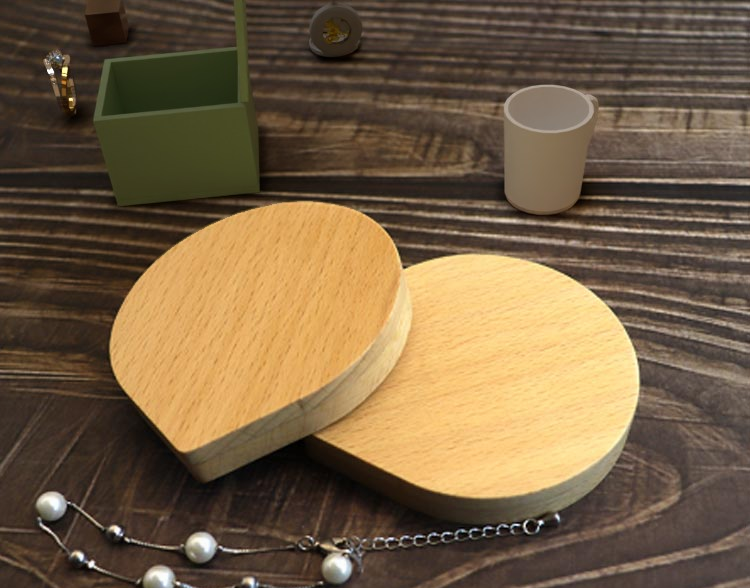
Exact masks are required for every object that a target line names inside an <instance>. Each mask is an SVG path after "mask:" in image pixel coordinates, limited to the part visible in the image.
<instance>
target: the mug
mask: <svg viewBox="0 0 750 588" xmlns="http://www.w3.org/2000/svg"><path fill="white" fill-rule="evenodd" d="M599 110H600V105H599V101H598V98H597V97H595V96H594V95H592V94H590V93H587V94H584V93H582V92H580V91H579V90H577V89H575V88H572V87H568V86H566V85H565V86H563V85H557V84H538V85H531V86H527V87H524V88H521V89H519V90H517V91H515V92H513V93H512V94H511V95H510V96H508V97H507V98H506V100H505V102H504V103H503V165H504V166H503V167H504V168H503V169H504V170H503V172H504V173H503V175H504V177H503V178H504V180H503V181H504V182H503V183H504V184H503V185H504V195H505V198H506V200H507V201H508V202H509V203H510V204H511V206H513V208H516V209H517V210H519V211H521V212H525V213H527V214H530V215H537V216H549V215H556V214H560V213H563V212H565V211H567V210H569V209H570V208H572V207H573V206H574V205H575V204H576V203H577V202H578V201H579V199H580V196H581V191H582V185H583V179H584V175H585V168H586V162H587V156H588V151H589V145H590V142H591V140H592V137H593V134H594V131H595V128H596V124H597V121H598V116H599Z"/></svg>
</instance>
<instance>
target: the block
mask: <svg viewBox="0 0 750 588" xmlns="http://www.w3.org/2000/svg"><path fill="white" fill-rule="evenodd" d="M126 13H127V12H126V9H125V4H124V1H123V0H87V2H86V7H85V12H84V17H85V21H86V25H87V29H88V32H89V35H90V39H91V43H92V46H93V47H97V46H98V47H99V46H109V45H119V44H127V42H128V38H129V37H128V35H129V30H130V25H129V22H128V21H129V20H128V17H127V14H126Z"/></svg>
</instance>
